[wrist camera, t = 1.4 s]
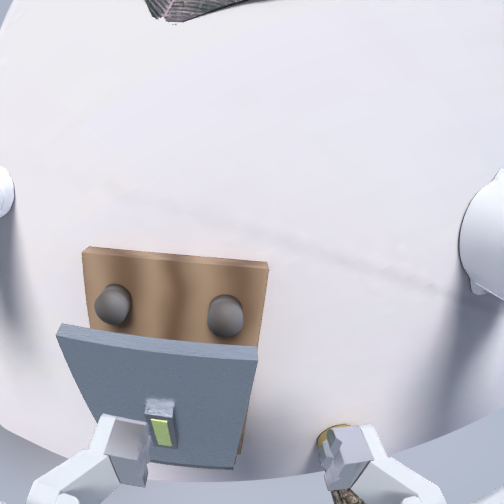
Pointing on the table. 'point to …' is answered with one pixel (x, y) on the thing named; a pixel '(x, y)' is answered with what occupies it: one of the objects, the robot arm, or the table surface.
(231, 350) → the plate
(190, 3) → the terrain model
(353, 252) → the table surface
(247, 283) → the leveling base
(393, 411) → the table surface
